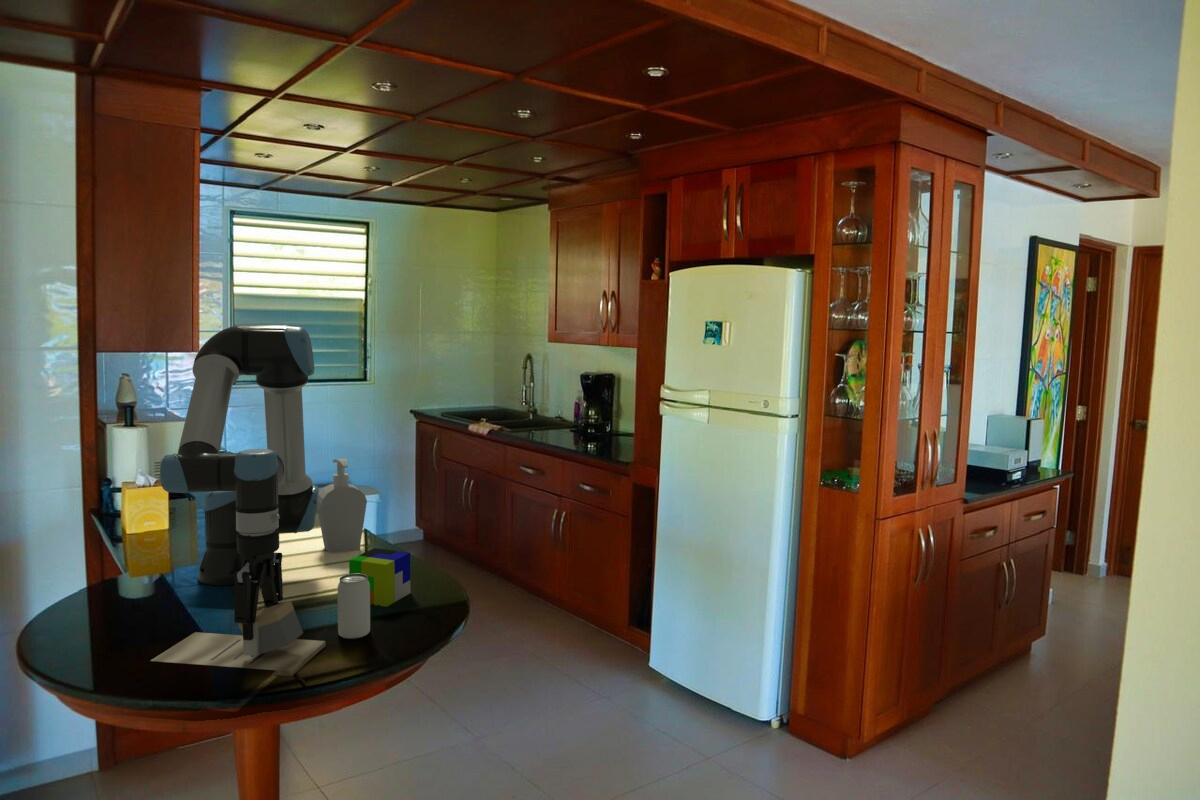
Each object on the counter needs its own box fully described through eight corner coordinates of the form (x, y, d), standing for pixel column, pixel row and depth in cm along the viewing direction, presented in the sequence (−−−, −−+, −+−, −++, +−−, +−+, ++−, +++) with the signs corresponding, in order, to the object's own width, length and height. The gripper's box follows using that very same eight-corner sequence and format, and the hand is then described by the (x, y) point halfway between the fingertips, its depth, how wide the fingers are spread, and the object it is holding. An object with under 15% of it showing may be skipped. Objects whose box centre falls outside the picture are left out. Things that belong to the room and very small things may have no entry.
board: (150, 665, 153) (149, 660, 153) (195, 636, 167) (195, 632, 167) (291, 676, 150) (291, 671, 150) (325, 645, 164) (325, 641, 163)
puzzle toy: (410, 593, 195) (410, 552, 194) (386, 607, 186) (386, 564, 185) (374, 587, 199) (374, 548, 198) (349, 601, 189) (349, 559, 188)
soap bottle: (323, 556, 222) (322, 463, 220) (316, 547, 231) (314, 457, 228) (369, 551, 228) (368, 460, 226) (360, 542, 237) (359, 454, 234)
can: (342, 627, 173) (341, 573, 172) (372, 627, 174) (372, 572, 172) (334, 639, 167) (333, 583, 165) (366, 639, 167) (366, 582, 166)
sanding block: (251, 657, 155) (237, 623, 154) (267, 644, 160) (254, 611, 160) (288, 645, 153) (274, 610, 153) (303, 632, 159) (290, 599, 159)
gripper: (249, 545, 145) (252, 670, 148) (300, 519, 164) (302, 630, 166) (209, 543, 146) (213, 667, 148) (265, 517, 165) (268, 627, 167)
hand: (260, 647), depth 157 cm, fingers closed on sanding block, 6 cm apart
